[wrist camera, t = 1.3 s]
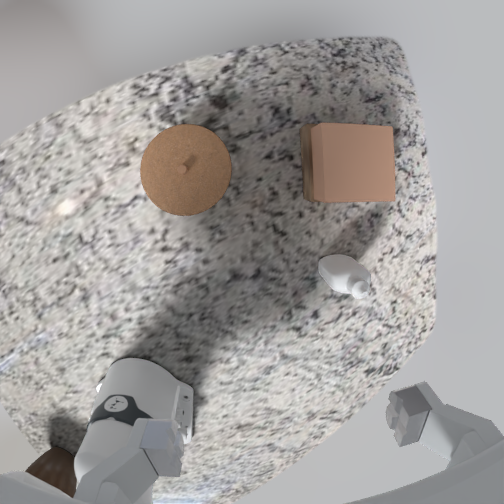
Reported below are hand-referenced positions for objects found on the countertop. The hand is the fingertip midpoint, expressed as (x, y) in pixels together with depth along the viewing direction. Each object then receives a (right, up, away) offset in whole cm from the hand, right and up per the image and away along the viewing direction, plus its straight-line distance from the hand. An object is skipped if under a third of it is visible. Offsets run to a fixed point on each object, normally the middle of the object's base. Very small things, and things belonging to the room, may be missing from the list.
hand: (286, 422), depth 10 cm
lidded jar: (-9, +18, +32) cm, 37 cm away
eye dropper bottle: (+11, +4, +36) cm, 38 cm away
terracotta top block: (+11, +18, +28) cm, 34 cm away
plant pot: (-50, -47, +46) cm, 82 cm away
